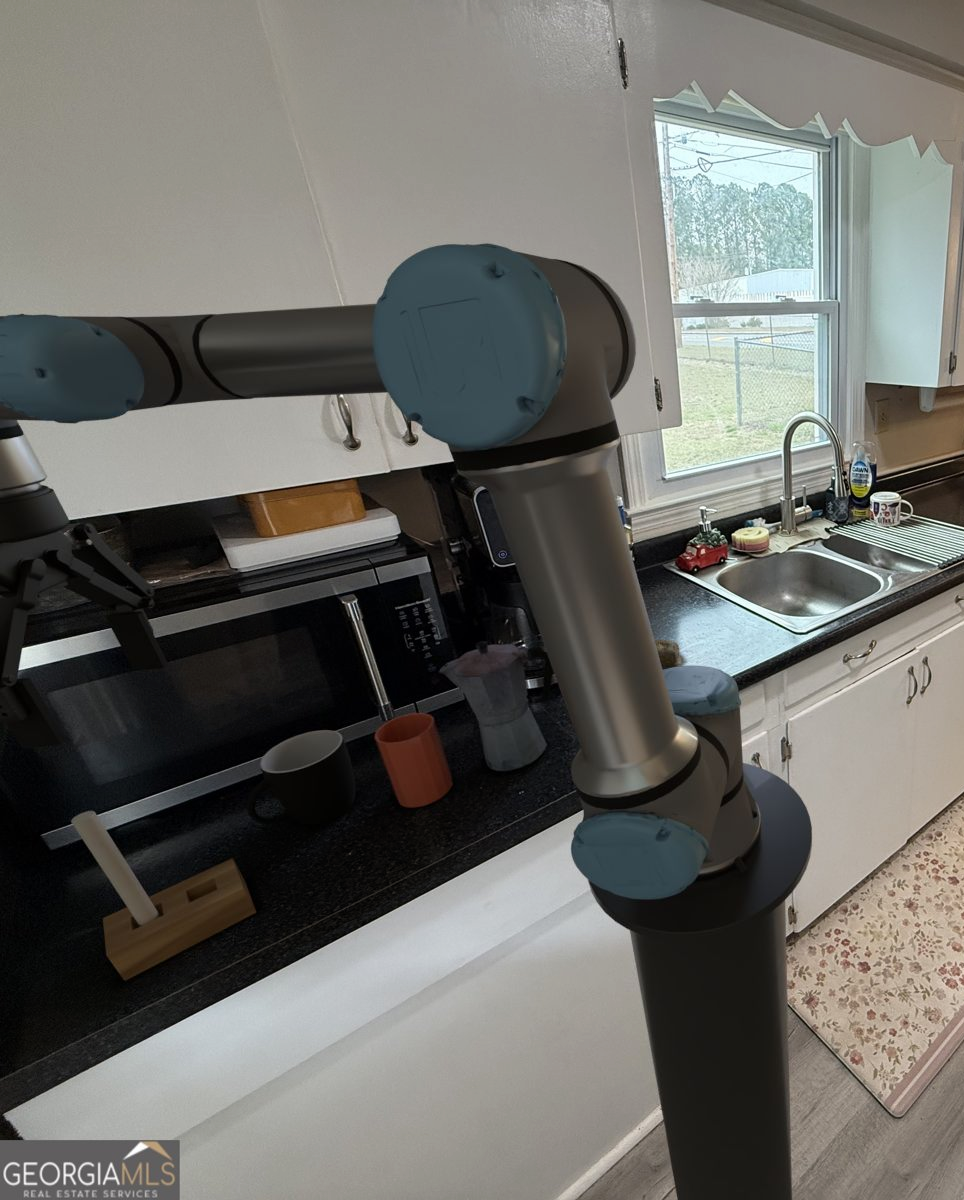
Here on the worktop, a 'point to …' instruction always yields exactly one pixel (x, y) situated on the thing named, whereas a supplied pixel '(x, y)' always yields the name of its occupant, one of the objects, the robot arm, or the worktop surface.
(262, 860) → the worktop surface
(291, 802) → the mug
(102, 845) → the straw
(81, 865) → the worktop surface
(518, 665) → the moka pot
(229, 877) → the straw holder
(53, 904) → the worktop surface
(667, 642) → the cake
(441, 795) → the cup
